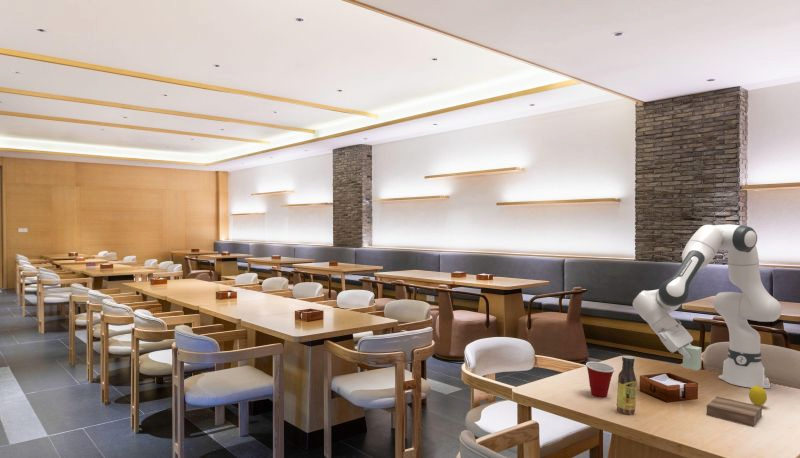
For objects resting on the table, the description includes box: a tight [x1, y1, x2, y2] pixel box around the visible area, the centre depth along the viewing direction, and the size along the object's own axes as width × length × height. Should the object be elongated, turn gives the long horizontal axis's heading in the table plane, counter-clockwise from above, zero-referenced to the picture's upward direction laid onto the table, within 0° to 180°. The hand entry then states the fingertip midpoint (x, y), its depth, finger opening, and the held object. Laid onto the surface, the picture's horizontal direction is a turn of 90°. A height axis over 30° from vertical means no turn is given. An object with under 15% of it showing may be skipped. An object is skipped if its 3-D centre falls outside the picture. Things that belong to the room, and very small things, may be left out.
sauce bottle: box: [616, 355, 638, 415], centre depth 182 cm, size 6×6×20 cm
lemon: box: [748, 385, 768, 406], centre depth 190 cm, size 6×6×8 cm
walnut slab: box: [706, 396, 763, 428], centre depth 180 cm, size 14×14×4 cm
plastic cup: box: [585, 361, 616, 399], centre depth 199 cm, size 11×11×12 cm
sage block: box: [682, 345, 703, 371], centre depth 194 cm, size 5×5×8 cm
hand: (692, 356), depth 194 cm, fingers closed on sage block, 5 cm apart
